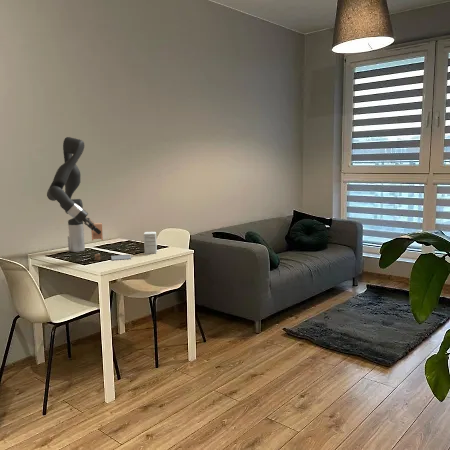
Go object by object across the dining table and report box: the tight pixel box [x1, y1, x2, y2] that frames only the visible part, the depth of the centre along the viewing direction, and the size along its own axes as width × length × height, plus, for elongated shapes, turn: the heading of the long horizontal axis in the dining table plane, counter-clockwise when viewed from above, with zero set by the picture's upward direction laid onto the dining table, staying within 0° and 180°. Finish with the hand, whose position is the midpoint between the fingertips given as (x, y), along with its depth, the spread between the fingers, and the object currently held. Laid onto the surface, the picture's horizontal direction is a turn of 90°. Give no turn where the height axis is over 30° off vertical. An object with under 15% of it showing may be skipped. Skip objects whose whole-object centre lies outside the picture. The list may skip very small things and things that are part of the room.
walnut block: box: [94, 253, 102, 261], centre depth 266 cm, size 3×3×3 cm
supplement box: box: [143, 231, 158, 255], centre depth 283 cm, size 7×7×13 cm
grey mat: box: [110, 254, 132, 262], centre depth 270 cm, size 11×11×1 cm
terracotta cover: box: [90, 222, 104, 242], centre depth 264 cm, size 6×6×10 cm
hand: (100, 232), depth 264 cm, fingers closed on terracotta cover, 6 cm apart
